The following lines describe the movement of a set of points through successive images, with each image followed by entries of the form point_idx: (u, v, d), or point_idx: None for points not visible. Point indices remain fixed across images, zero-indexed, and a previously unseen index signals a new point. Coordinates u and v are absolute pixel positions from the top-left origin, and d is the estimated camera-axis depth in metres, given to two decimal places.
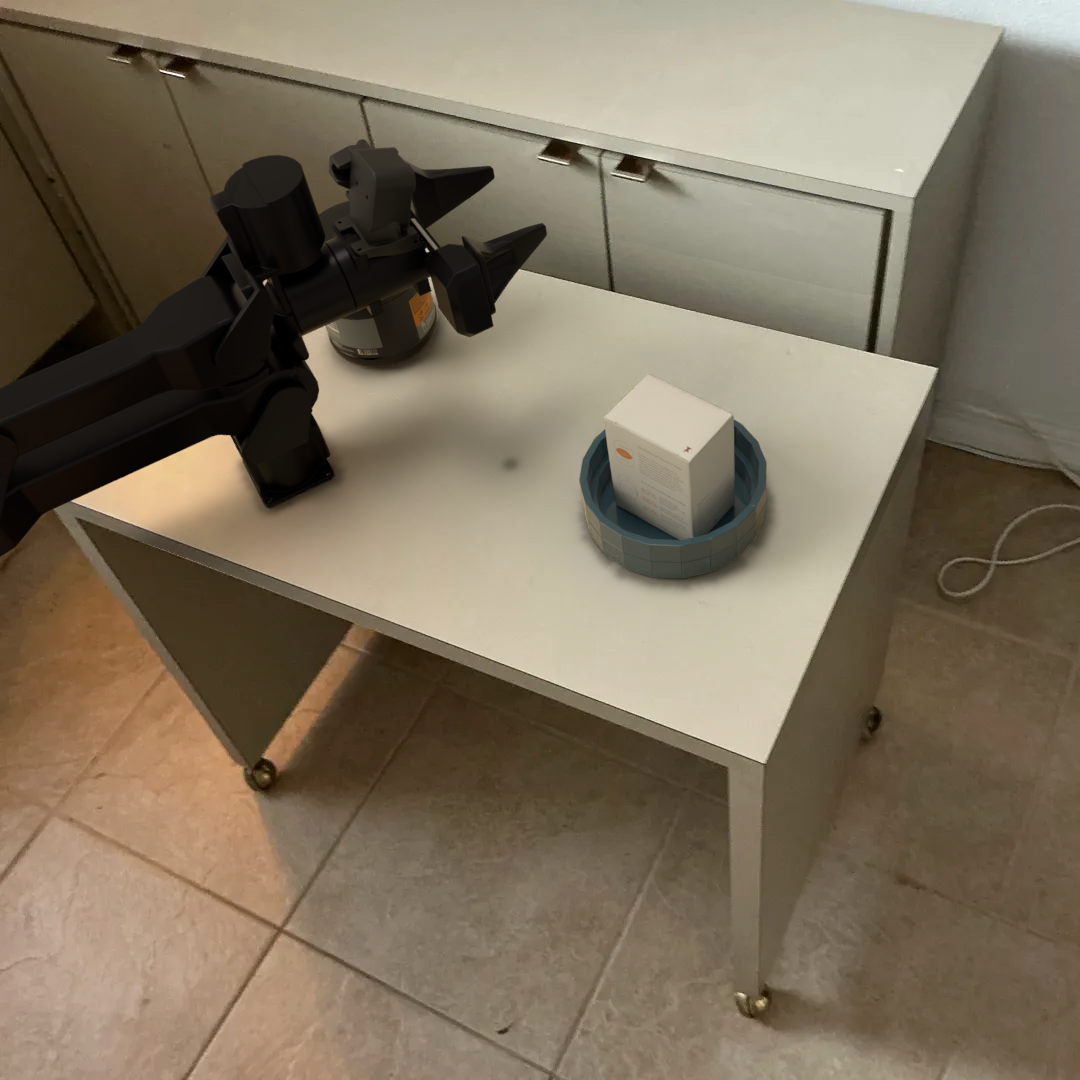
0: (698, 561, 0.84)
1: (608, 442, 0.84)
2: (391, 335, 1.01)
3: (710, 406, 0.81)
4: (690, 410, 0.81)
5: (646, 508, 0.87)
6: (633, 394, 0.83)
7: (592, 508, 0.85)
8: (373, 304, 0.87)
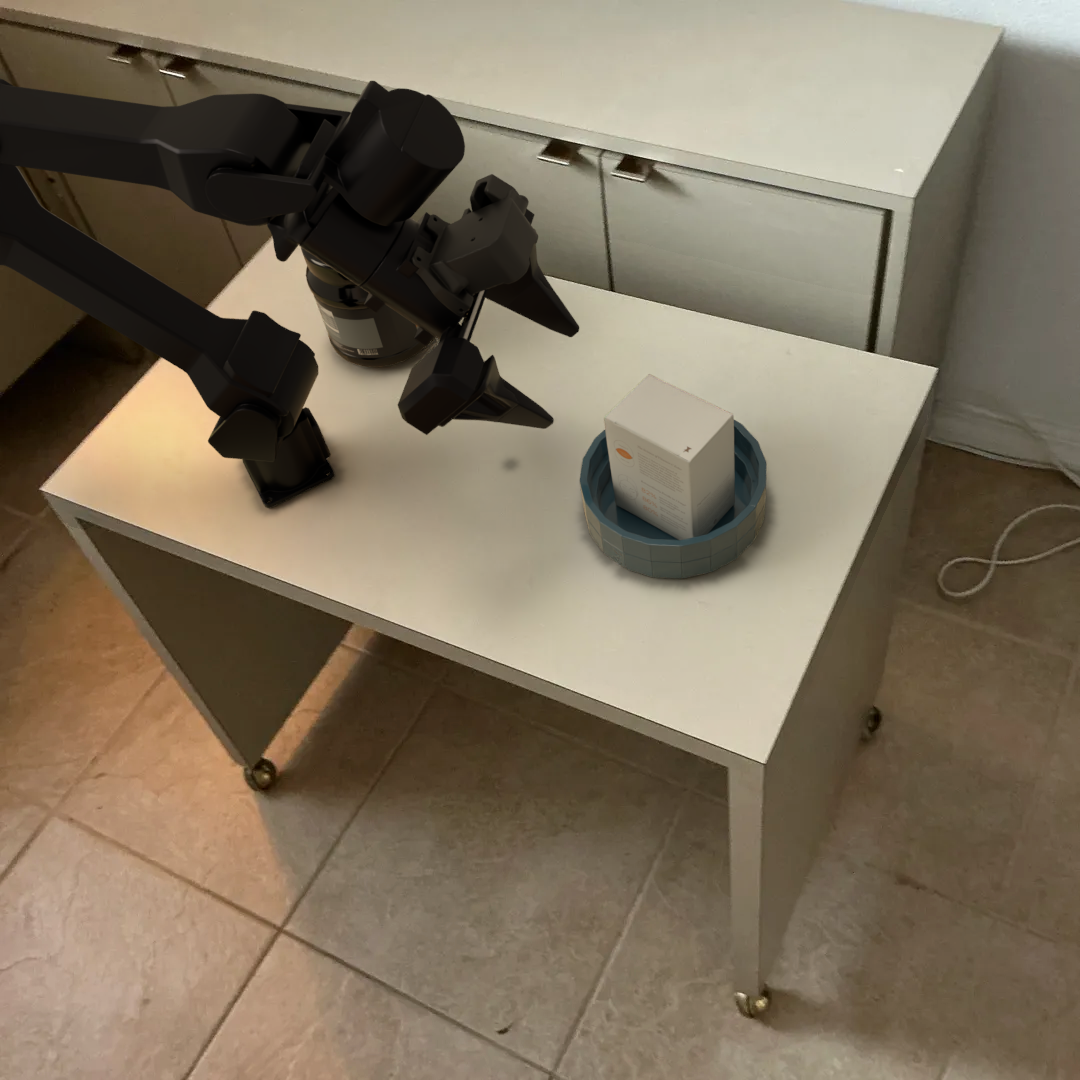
0: (698, 561, 0.84)
1: (608, 442, 0.84)
2: (391, 335, 1.01)
3: (710, 406, 0.81)
4: (690, 410, 0.81)
5: (646, 508, 0.87)
6: (633, 394, 0.83)
7: (592, 508, 0.85)
8: (376, 299, 0.75)
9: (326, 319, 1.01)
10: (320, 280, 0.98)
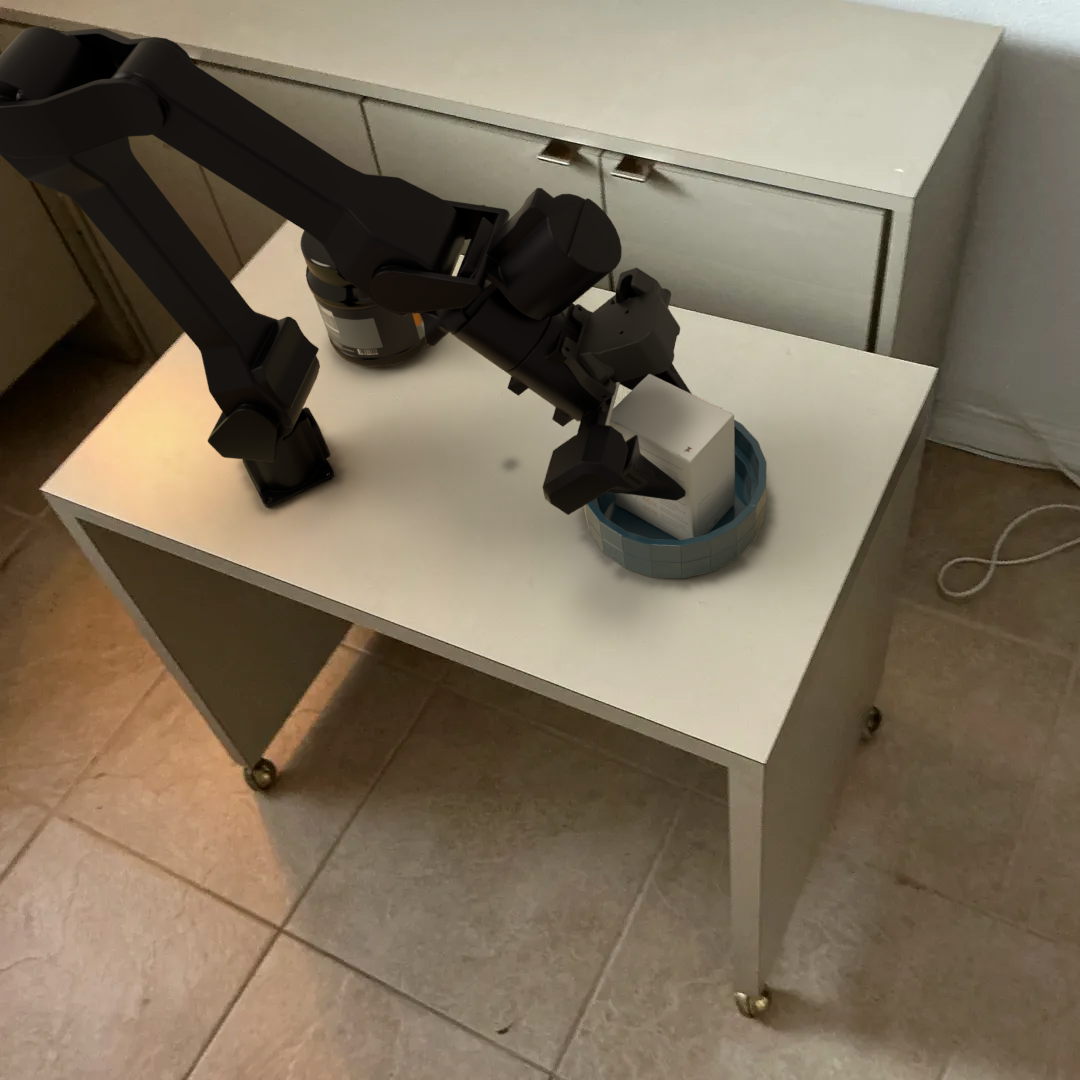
0: (698, 561, 0.84)
1: None
2: (391, 335, 1.01)
3: (711, 406, 0.81)
4: (690, 410, 0.81)
5: (646, 508, 0.87)
6: (634, 394, 0.83)
7: (592, 508, 0.85)
8: (520, 383, 0.78)
9: (326, 319, 1.01)
10: (320, 280, 0.98)
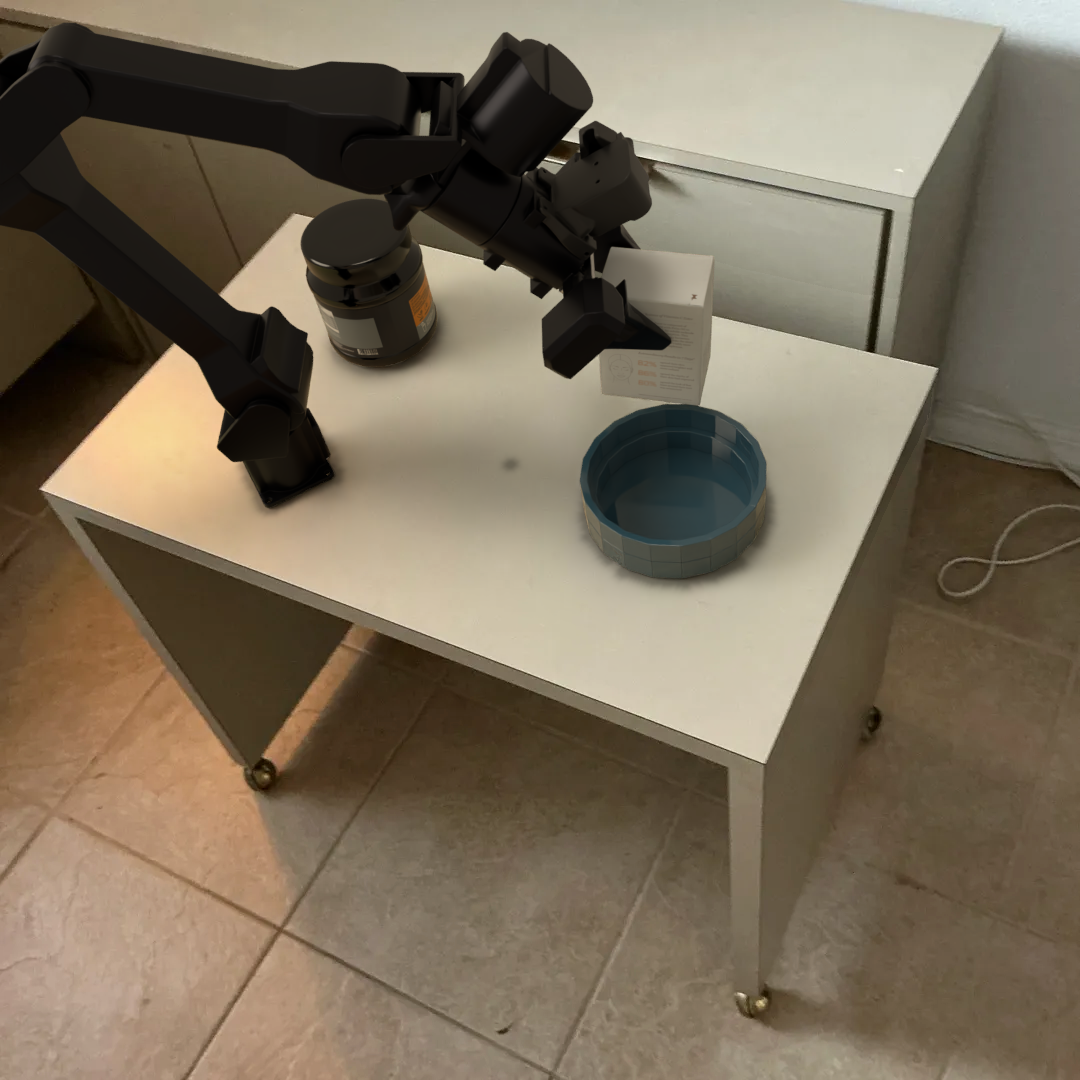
0: (698, 561, 0.84)
1: None
2: (391, 335, 1.01)
3: (688, 255, 0.82)
4: (673, 264, 0.81)
5: (642, 382, 0.86)
6: (610, 268, 0.82)
7: (592, 508, 0.85)
8: (497, 256, 0.77)
9: (326, 319, 1.01)
10: (320, 280, 0.98)
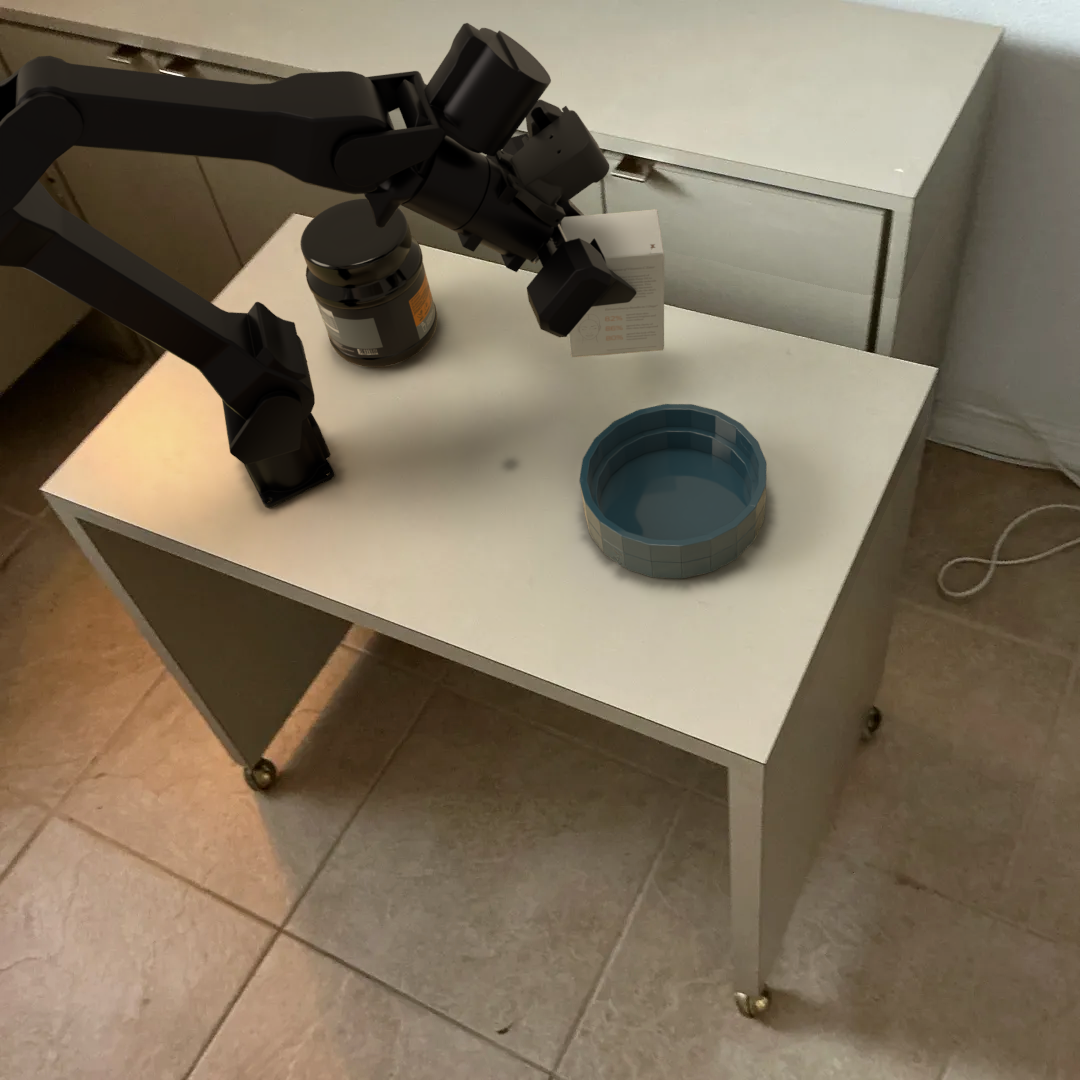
0: (698, 561, 0.84)
1: None
2: (391, 335, 1.01)
3: (634, 212, 0.89)
4: (623, 222, 0.88)
5: (609, 337, 0.93)
6: (568, 235, 0.88)
7: (592, 508, 0.85)
8: (475, 236, 0.82)
9: (326, 319, 1.01)
10: (320, 280, 0.98)
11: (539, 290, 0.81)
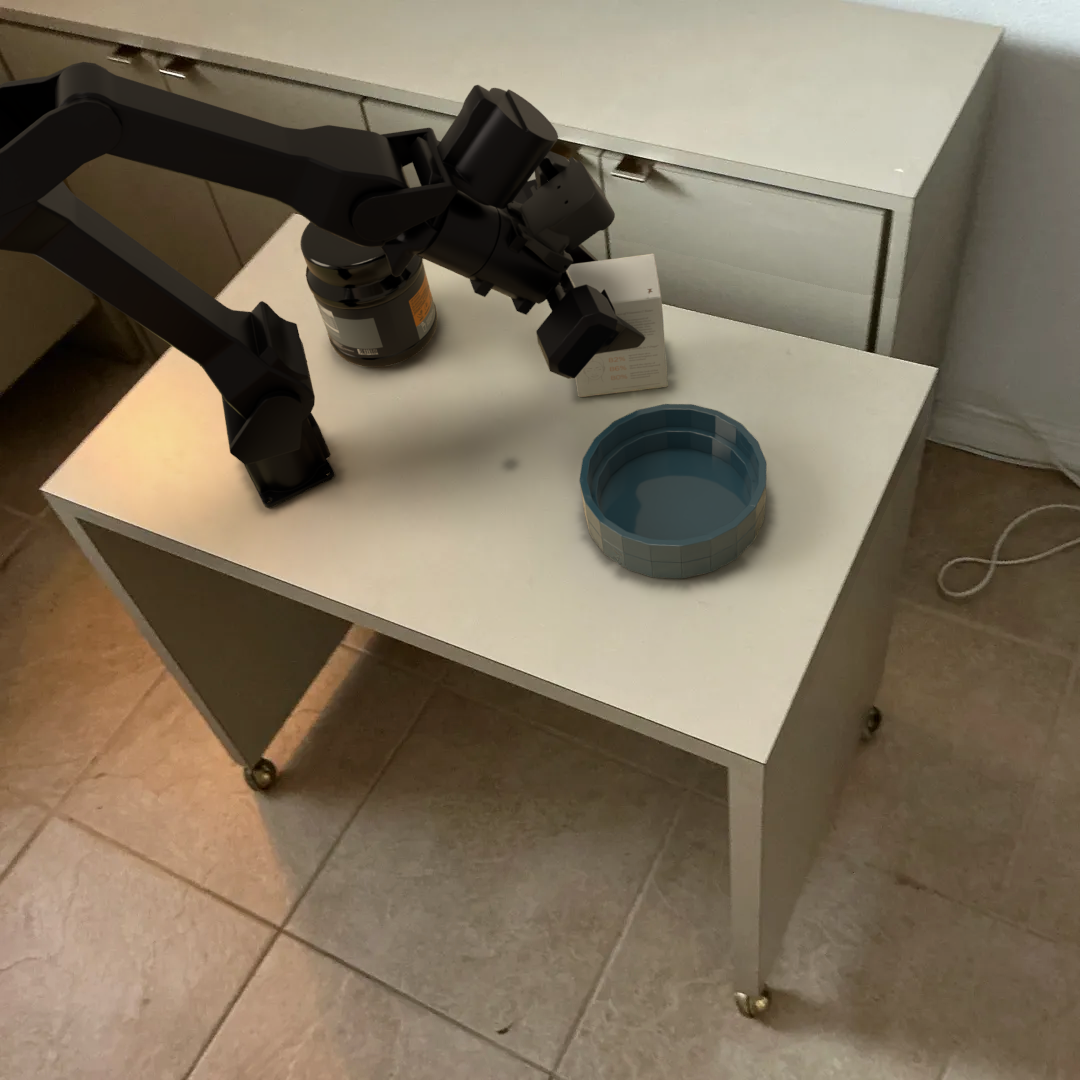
0: (698, 561, 0.84)
1: None
2: (391, 335, 1.01)
3: (632, 257, 0.93)
4: (622, 268, 0.92)
5: (614, 377, 0.97)
6: None
7: (592, 508, 0.85)
8: (486, 283, 0.85)
9: (326, 319, 1.01)
10: (320, 280, 0.98)
11: (548, 334, 0.85)
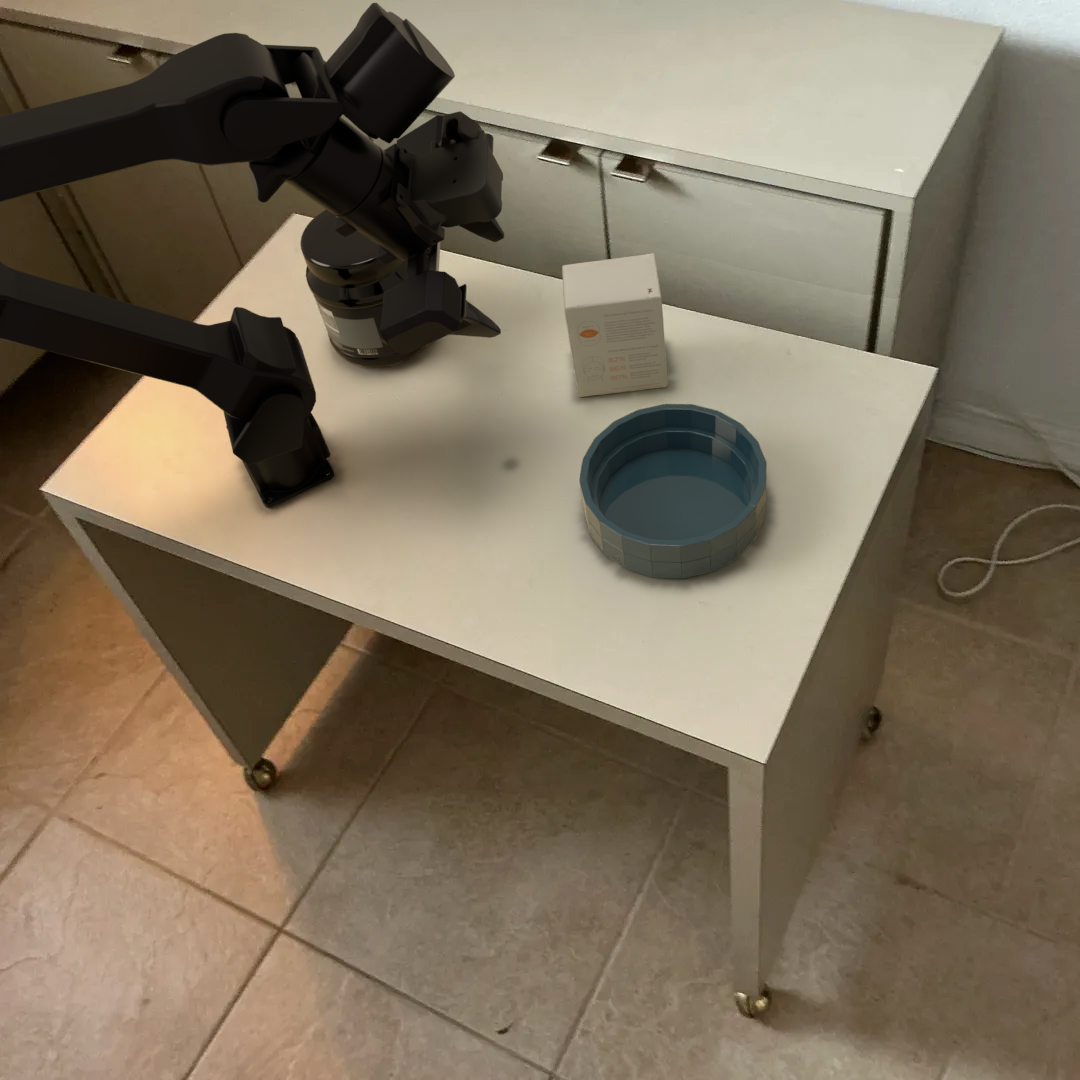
0: (698, 561, 0.84)
1: (571, 332, 0.92)
2: None
3: (632, 257, 0.93)
4: (622, 267, 0.92)
5: (614, 377, 0.97)
6: (569, 282, 0.92)
7: (592, 508, 0.85)
8: (349, 226, 0.80)
9: (326, 319, 1.01)
10: (320, 280, 0.98)
11: (391, 304, 0.81)
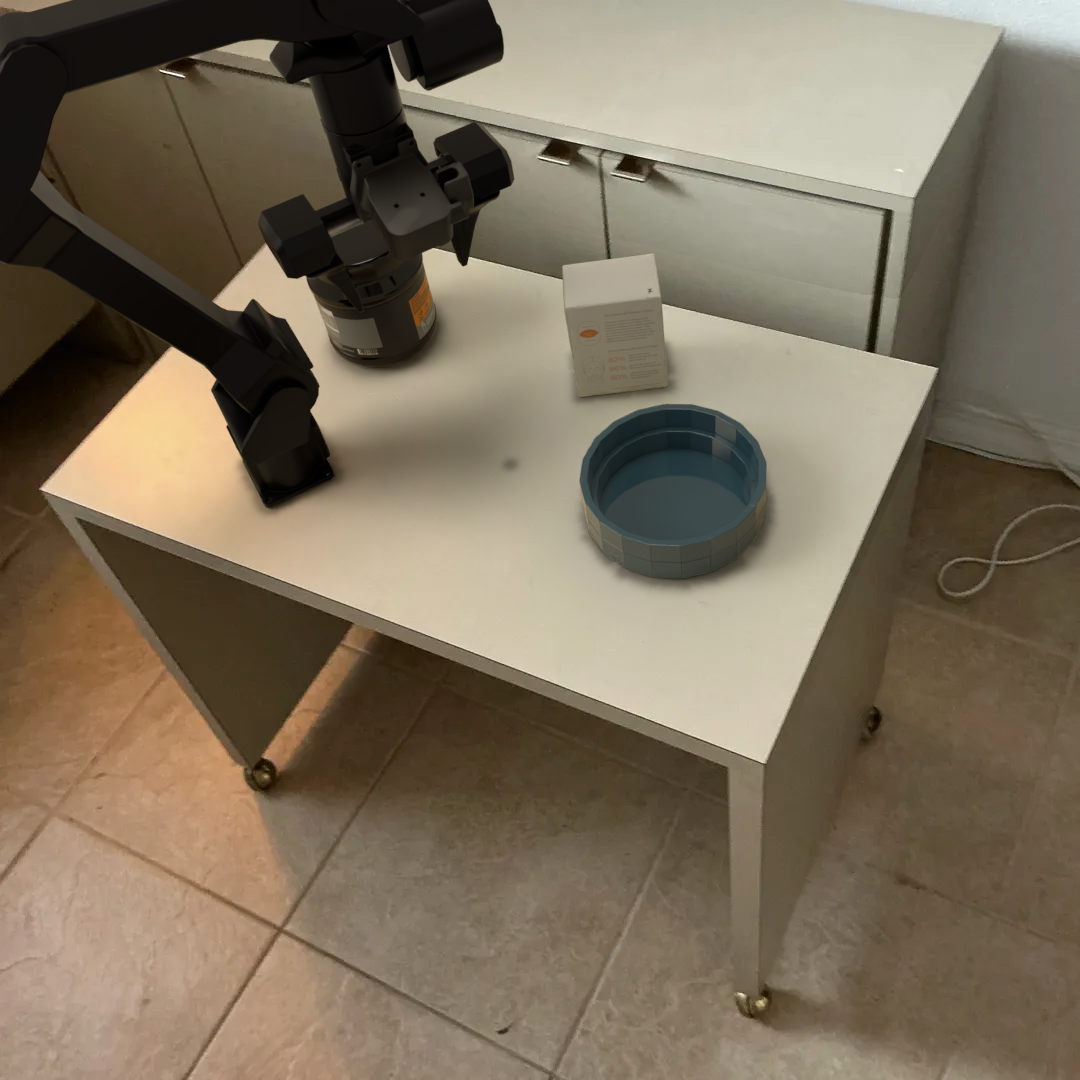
0: (698, 561, 0.84)
1: (570, 332, 0.92)
2: (391, 335, 1.01)
3: (632, 257, 0.93)
4: (622, 267, 0.92)
5: (614, 377, 0.97)
6: (569, 282, 0.92)
7: (592, 508, 0.85)
8: None
9: (326, 319, 1.01)
10: (320, 280, 0.98)
11: (289, 207, 0.82)
